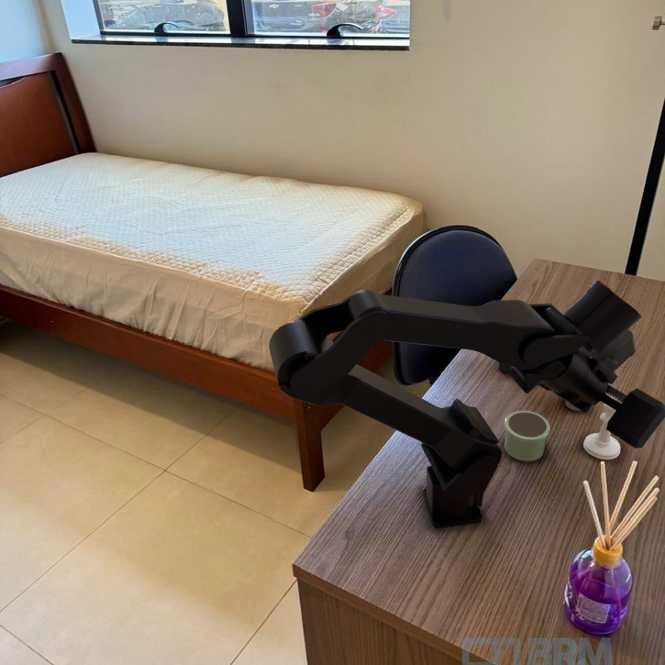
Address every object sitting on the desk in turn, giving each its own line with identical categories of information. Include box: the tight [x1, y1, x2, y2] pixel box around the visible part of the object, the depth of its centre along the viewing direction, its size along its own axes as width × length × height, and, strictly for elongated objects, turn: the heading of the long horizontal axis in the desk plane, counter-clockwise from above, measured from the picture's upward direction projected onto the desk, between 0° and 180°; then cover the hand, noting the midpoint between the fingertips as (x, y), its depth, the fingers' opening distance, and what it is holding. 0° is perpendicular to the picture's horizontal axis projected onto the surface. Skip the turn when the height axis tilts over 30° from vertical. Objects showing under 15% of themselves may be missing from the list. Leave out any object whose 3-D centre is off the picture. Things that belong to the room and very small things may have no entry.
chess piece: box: [582, 395, 621, 461], centre depth 85 cm, size 5×5×10 cm
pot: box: [503, 410, 551, 462], centre depth 88 cm, size 6×6×5 cm
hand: (610, 406), depth 84 cm, fingers open, 9 cm apart
